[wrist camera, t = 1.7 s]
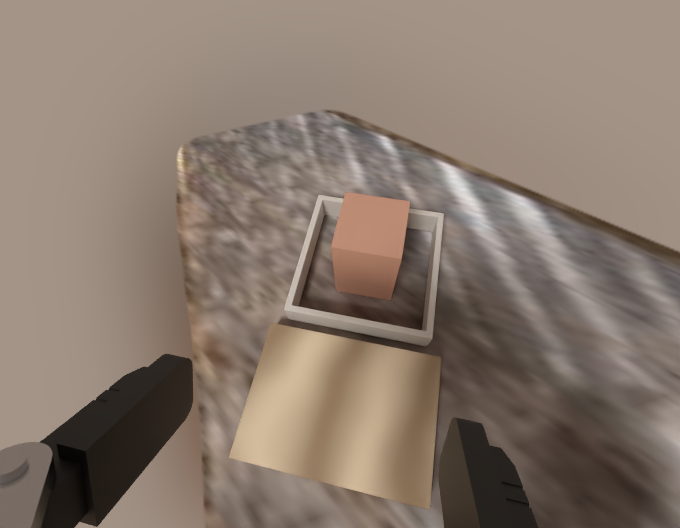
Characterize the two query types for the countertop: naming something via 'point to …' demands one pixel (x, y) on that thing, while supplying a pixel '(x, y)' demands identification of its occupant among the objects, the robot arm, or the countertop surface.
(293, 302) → the square frame
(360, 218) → the terracotta block
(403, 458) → the maple board
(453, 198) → the countertop surface
